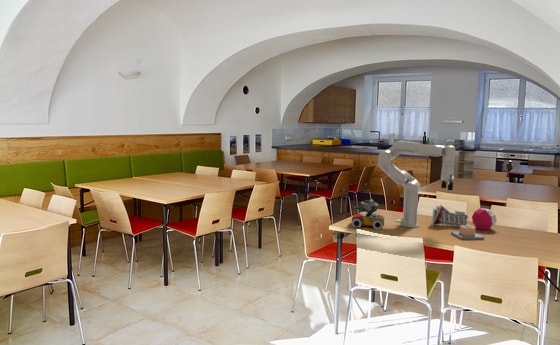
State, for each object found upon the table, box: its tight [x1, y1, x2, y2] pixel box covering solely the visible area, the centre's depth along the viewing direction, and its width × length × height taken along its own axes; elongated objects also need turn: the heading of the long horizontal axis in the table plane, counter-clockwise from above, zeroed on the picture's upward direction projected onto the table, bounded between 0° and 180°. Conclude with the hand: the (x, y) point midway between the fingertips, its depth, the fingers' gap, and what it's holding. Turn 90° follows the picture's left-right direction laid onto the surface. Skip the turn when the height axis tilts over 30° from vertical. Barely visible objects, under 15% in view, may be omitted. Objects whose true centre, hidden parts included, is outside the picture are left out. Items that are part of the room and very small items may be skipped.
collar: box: [458, 225, 476, 236], centre depth 276 cm, size 7×7×5 cm
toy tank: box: [351, 198, 385, 231], centre depth 300 cm, size 18×22×20 cm
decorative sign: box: [430, 204, 469, 227], centre depth 305 cm, size 24×3×15 cm, turn 84°
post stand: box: [450, 224, 485, 241], centre depth 276 cm, size 15×14×8 cm
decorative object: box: [471, 208, 498, 231], centre depth 299 cm, size 15×15×15 cm
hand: (446, 189), depth 291 cm, fingers open, 9 cm apart
